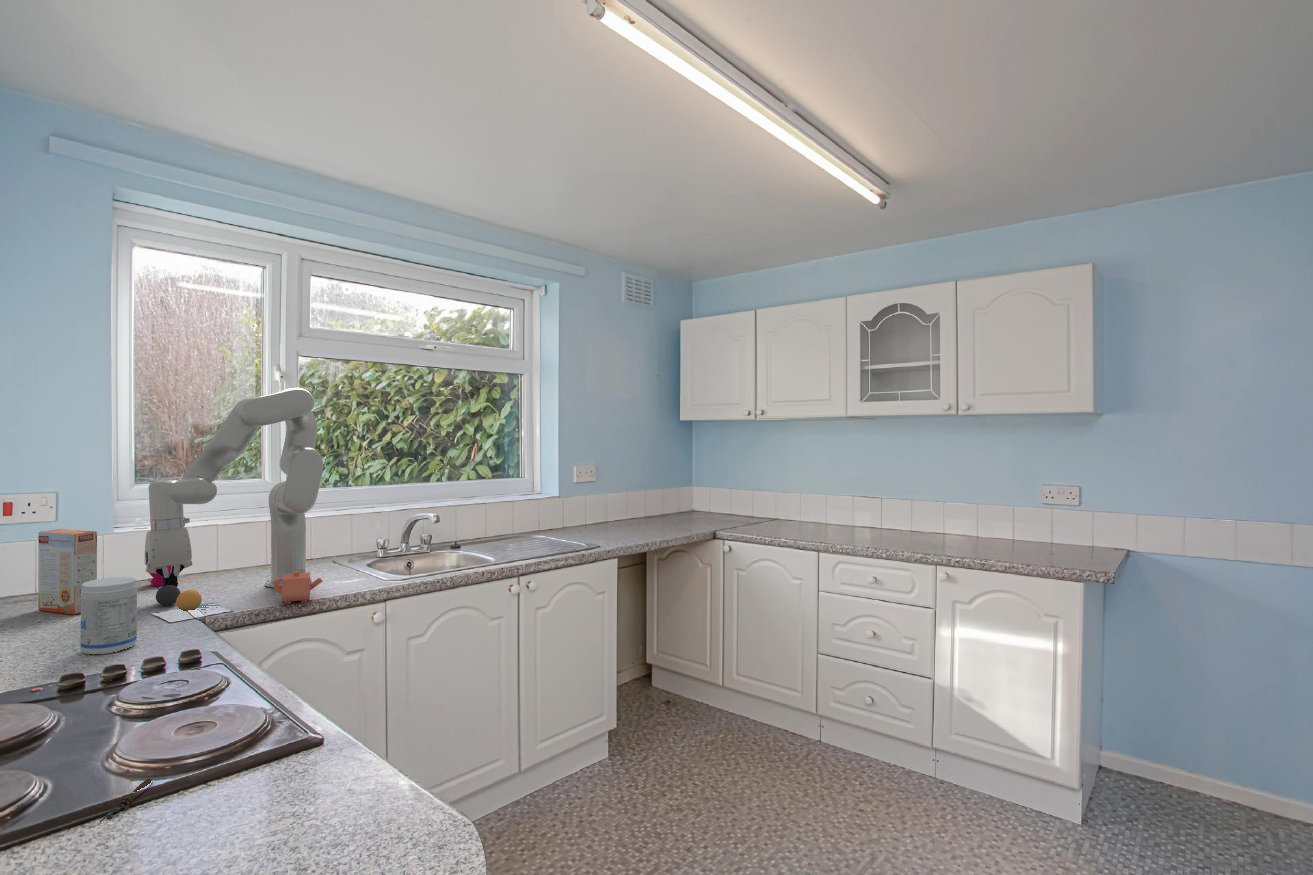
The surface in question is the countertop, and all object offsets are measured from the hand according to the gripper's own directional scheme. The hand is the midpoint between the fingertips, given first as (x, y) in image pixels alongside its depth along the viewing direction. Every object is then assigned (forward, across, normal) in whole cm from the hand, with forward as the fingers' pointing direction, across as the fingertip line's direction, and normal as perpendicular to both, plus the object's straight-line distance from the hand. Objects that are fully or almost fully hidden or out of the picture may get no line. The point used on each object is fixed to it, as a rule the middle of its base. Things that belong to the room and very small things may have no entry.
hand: (170, 590), depth 189 cm
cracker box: (+2, +20, -9) cm, 22 cm away
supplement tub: (+2, +23, +38) cm, 45 cm away
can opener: (+2, +40, +115) cm, 122 cm away
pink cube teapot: (+4, -22, +27) cm, 35 cm away
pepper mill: (+3, -6, -26) cm, 26 cm away
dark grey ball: (0, +2, +5) cm, 6 cm away
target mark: (+3, +1, +19) cm, 19 cm away
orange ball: (0, +1, +16) cm, 16 cm away
